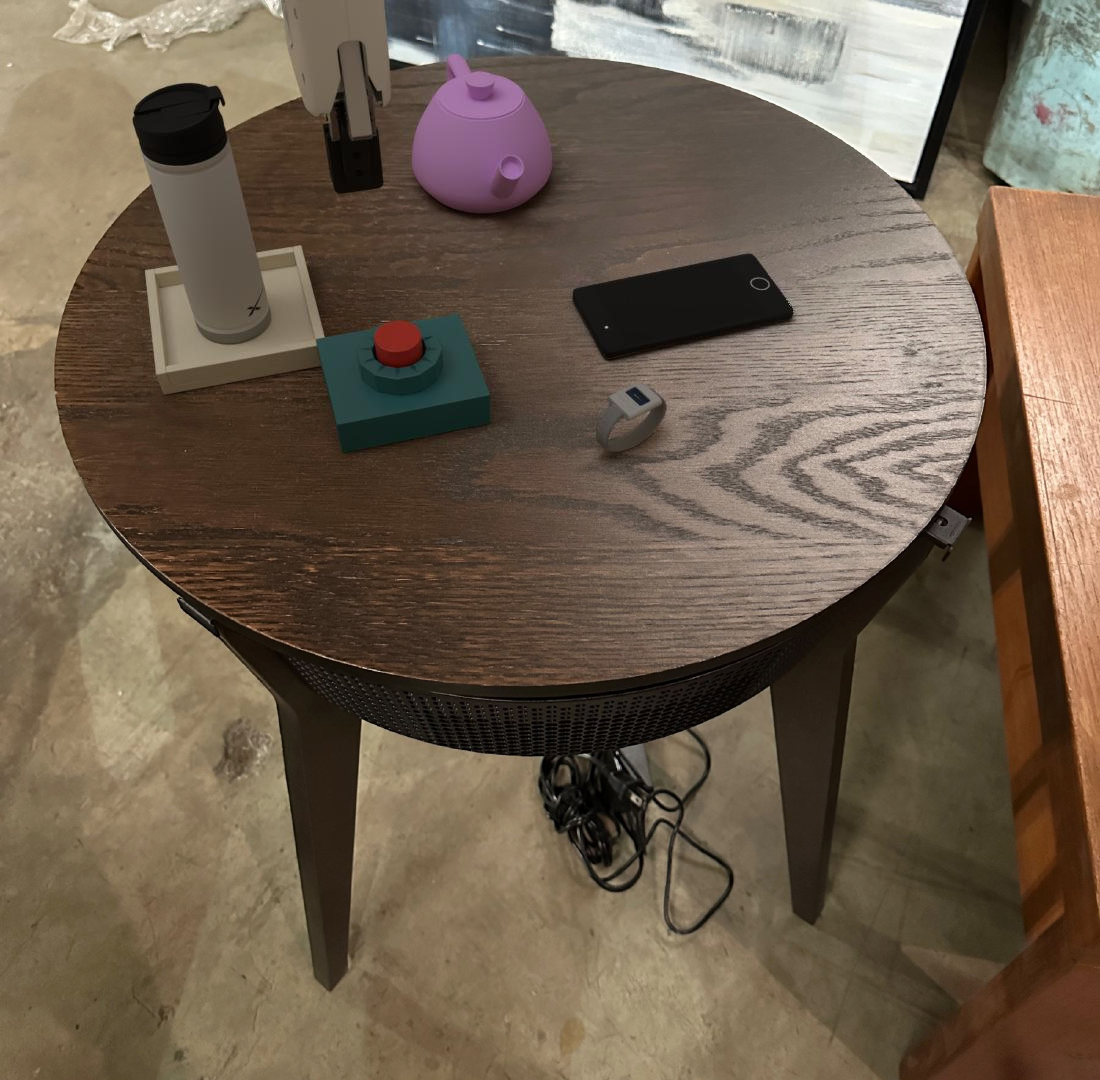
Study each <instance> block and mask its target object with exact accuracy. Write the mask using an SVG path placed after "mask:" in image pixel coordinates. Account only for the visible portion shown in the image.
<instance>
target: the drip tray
mask: <svg viewBox="0 0 1100 1080" xmlns="http://www.w3.org/2000/svg"><path fill="white" fill-rule="evenodd" d="M256 253H257V257H258V261H259V266H260V270H261V274H262V278H263V282H264V286H265V290H266V295H267V299H268V303H269V307H270V311H271V319H270V321H269V324H268V325H267V327H266V328H265V329H264V330H263V331H262V332H261V333H260V334H258V335H257V336H255V337H253V338H251V339H249V340H246V341H242V342H237V343H219V342H215V341H212V340H210V339H208V338H206V337H205V336H203V335H202V334H201V333H200V332H199V330H198V328H197V325H196V322H195V319H194V316H193V312H192V310H191V307H190V303H189V300H188V297H187V294H186V291H185V288H184V285H183V282H182V278H181V275H180V272H179V269H178V266H177V264H176V265H170V266H169V265H168V266H164V267H156V268H150V269H145V270H144V275H145V285H146V292H147V293H146V295H147V304H148V312H149V321H150V331H151V341H152V351H153V359H154V367H155V376H156V378H157V381H158V383H159V386H160V389H161V392H162V394H163V396H164V395H171V394H175V393H181V392H186V391H191V390H198V389H202V388H203V389H204V388H208V387H213V386H219V385H224V384H230V383H235V382H242V381H247V380H251V379H257V378H263V377H269V376H273V375H280V374H284V373H285V374H286V373H290V372H296V371H302V370H307V369H311V368H318V367H321V363H320V358H319V353H318V348H317V343H316V339H319V338H324V337H326V336H325V332H324V329H323V325H322V320H321V316H320V313H319V310H318V309H319V308H318V304H317V301H316V297H315V293H314V290H313V286H312V282H311V279H310V278H311V277H310V274H309V271H308V265H307V263H306V258H305V255H304V251H303V247H302V245H294V246H288V247H282V248H276V249H269V250H263V251H256Z"/></svg>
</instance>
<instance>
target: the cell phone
mask: <svg viewBox="0 0 1100 1080" xmlns="http://www.w3.org/2000/svg"><path fill="white" fill-rule="evenodd" d="M768 274H769V273H768V271H767V270H766V268H765V267H764V266H763V264H761V262H760V261H759V259H758V258H757V257H756V256H755V254H753V253H750V252H749V253H742V254H737V255H732V256H728V257H727V256H726V257H722V258H717V259H712V260H707V261H702V262H698V263H693V264H687V265H683V266H677V267H673V268H667V269H663V270H657V271H652V272H647V273H643V274H638V275H633V276H627V277H623V278H619V279H613V280H608V281H603V282H598V283H594V284H593V283H592V284H589V285H584V286H580V287H575V288H574V289H573V290H572V301H573V303H574V306H575V307H576V309H577V311H578V313H579V314H580V317H581V318H582V320H583V322H584V324H585V325H586V327H587V329H588V332H589V333H590V335H591V337H592V338H593V341H594V343H595V344H596V346H597V348H598V349H599V351H600V354H601V355H602V356H603V357H604V358H605V359H607V360H611V359H615V358H619V357H624V356H628V355H632V354H636V353H641V352H646V351H650V350H654V349H655V350H656V349H660V348H664V347H669V346H673V345H674V346H675V345H678V344H682V343H683V344H684V343H687V342H691V341H697V340H700V339H705V338H709V337H710V338H711V337H714V336H719V335H723V334H727V333H732V332H737V331H742V330H746V329H751V328H755V327H759V326H763V325H769V324H772V323H778V322H783V321H789V320H792V319H793V316H794V314H795V310H793V309H794V307H793V306H792V304H791V302H789V300H788V299H787V297H786V296H785V294H784V293H783V292H782V291H781V289H780V288H779V287H778V285H777V284H776V283H775V281H774V280H773V278H772V277H771V276H770V274H769V275H768ZM771 278H772V279H771ZM786 299H787V300H786ZM788 302H789V303H788ZM789 304H790V305H791V306H790V305H789ZM792 307H793V308H792ZM793 311H794V312H793Z"/></svg>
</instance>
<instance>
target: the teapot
mask: <svg viewBox="0 0 1100 1080" xmlns="http://www.w3.org/2000/svg"><path fill="white" fill-rule="evenodd" d="M445 71H446V79H447V81H446V82H445V83H444V84H442V85H441V86H440V87H439V88H438V90H437V91H436V92H435V94H434V95H433V96H432V98H431V100H430V102H429V103H428V105H427V107H426V108H425V110H424V112H423V113H422V115H421V117H420V120H419V122H418V124H417V127H416V130H415V132H414V137H413V141H412V148H411V149H412V150H411V151H412V152H411V166H412V172H413V174H414V176H415V178H416V180H417V181H418V183H419V185H420V186H421V187H422V188H423V189H424V190H425V192H427V193H428V194H429V195H430V196H432V197H433V198H434V199H436V200H437V201H438V202H439V203H441V204H443V205H444V206H446V207H449V208H451V209H454V210H457V211H460V212H464V213H471V214H493V213H501V212H505V211H509V210H512V209H515V208H517V207H519V206H521V205H523V204H525V203H526V202H528V201H529V200H530V199H532V198H533V197H534V196H535V195H536V194H537V193H538V192H539V191H540V190H541V189H542V188H543V187H544V186H545V184H547V182H548V180H549V178H550V176H551V173H552V170H553V152H552V146H551V145H552V144H551V142H550V138H549V133H548V130H547V129H546V125H545V123H544V121H543V119H542V117H541V115H540V114H539V112H538V110H537V109H536V107H535V105H534V104H533V103H532V101H531V99H530V98H529V97H528V95H527V94H526V92H525V91H524V90H523V89H522V88H521V86H520V85H518V84H517V83H516V82H515V81H513V80H511V79H509V78H507V77H504V76H500V75H497V74H492V73H490V72H488V71H483V70H482V71H479V70H478V71H473V72H472V70H471V67H470V66H469V65H468V62H467V61H466V60H465V58H464V57H463V56H462V55H461V54H458V53H451V54H449V55H448V56H447V58H446V61H445Z"/></svg>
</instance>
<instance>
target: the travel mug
mask: <svg viewBox="0 0 1100 1080" xmlns="http://www.w3.org/2000/svg"><path fill="white" fill-rule="evenodd" d="M220 103H221V106H222V107H225V106H226V100H225V97H224V95H223V92H222V90H221V88H220V87H219V86H218V85H211V86H208V85H207V84H203V83H197V82H182V83H174V84H171V85H170V84H169V85H166V86H163V87H161V88H158V89H156V90H154V91H152V92H150V93H148V94H147V95H145V96H144V97H143V98H142V99H140V100H139V102H137V104H136V105H135V106H134V110H133V116H132V125H133V128H134V132H135V135H136V138H137V139H138V144H139V149H140V153H141V156H142V158H143V163H144V165H145V169H146V172H147V175H148V179H149V181H150V184H151V187H152V191H153V194H154V198H155V200H156V203H157V207H158V208H159V212H160V216H161V219H162V222H163V225H164V229H165V231H166V235H167V237H168V241H169V243H170V248H171V250H172V253H173V256H174V260H175V263H176V265H177V266H178V269H179V272H180V275H181V278H182V282H183V285H184V288H185V291H186V294H187V297H188V300H189V303H190V307H191V310H192V312H193V316H194V319H195V322H196V325H197V328H198V330H199V332H200V333H201V334H202V335H203V336H205V337H206V338H208V339H210V340H212V341H215V342H219V343H237V342H242V341H246V340H249V339H251V338H253V337H255V336H257V335H258V334H260V333H261V332H262V331H263V330H264V329H265V328H266V327H267V325H268V324H269V321H270V319H271V311H270V307H269V303H268V299H267V295H266V290H265V286H264V282H263V278H262V274H261V270H260V266H259V261H258V257H257V253H256V252H257V248H256V245H255V242H254V237H253V234H252V229H251V225H250V221H249V216H248V212H247V208H246V204H245V200H244V196H243V191H242V188H241V183H240V179H239V175H238V171H237V166H236V163H235V159H234V154H233V150H232V147H231V146H232V145H231V143H230V138H229V134H228V132H227V128H226V125H225V120H224V117H223V115H222V113H221V111H220V107H219V106H220Z"/></svg>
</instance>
